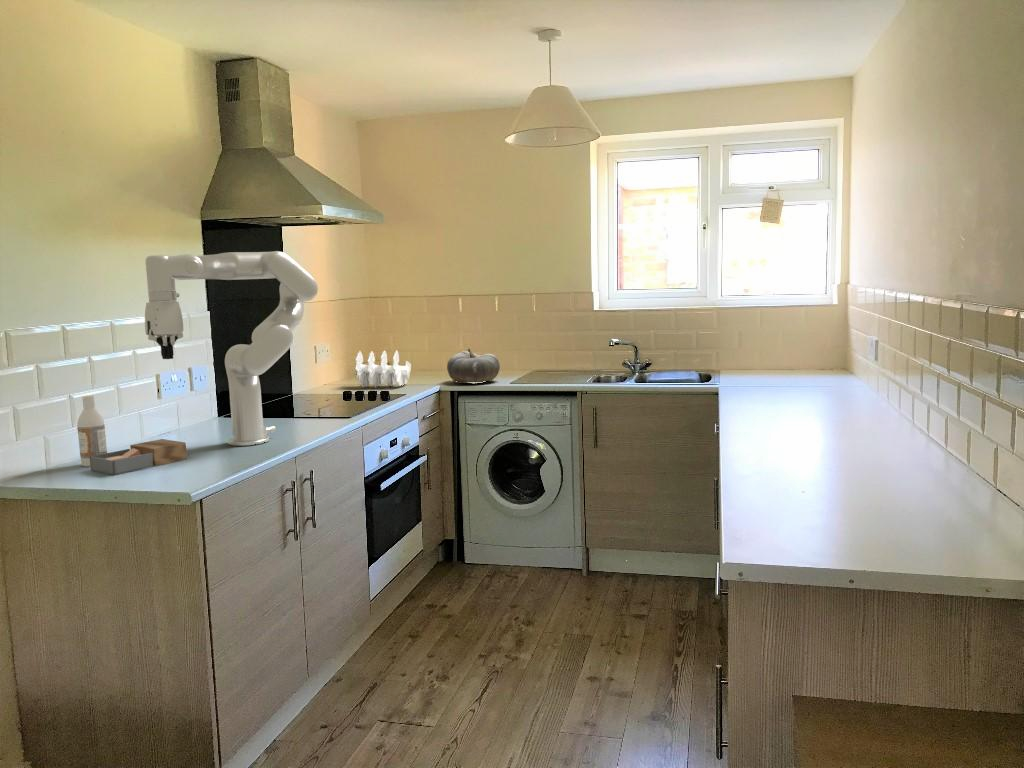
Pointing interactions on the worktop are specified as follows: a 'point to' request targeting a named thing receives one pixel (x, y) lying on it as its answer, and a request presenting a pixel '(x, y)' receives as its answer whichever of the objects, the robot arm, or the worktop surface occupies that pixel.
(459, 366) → the gourd
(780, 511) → the worktop surface
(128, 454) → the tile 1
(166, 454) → the brown slab
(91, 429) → the bath foam
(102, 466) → the tray
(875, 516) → the worktop surface
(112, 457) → the light orange block
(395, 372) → the white shapes
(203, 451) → the worktop surface
